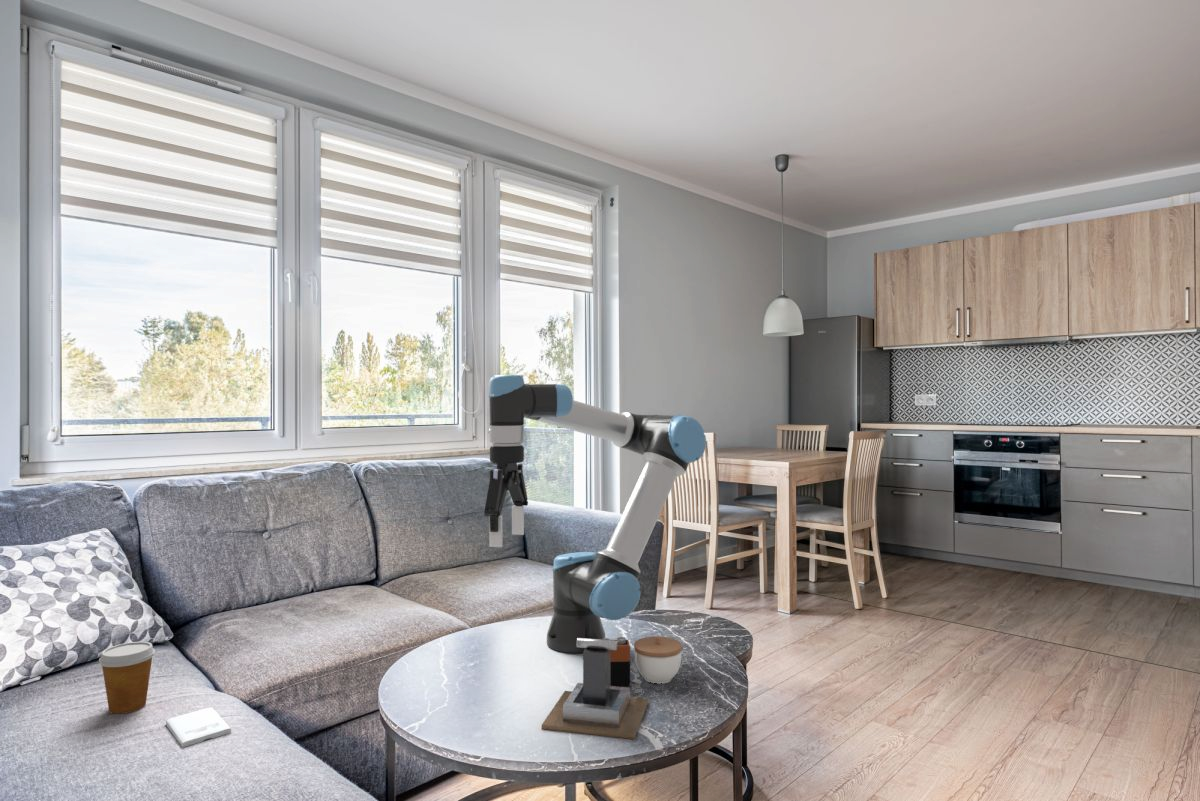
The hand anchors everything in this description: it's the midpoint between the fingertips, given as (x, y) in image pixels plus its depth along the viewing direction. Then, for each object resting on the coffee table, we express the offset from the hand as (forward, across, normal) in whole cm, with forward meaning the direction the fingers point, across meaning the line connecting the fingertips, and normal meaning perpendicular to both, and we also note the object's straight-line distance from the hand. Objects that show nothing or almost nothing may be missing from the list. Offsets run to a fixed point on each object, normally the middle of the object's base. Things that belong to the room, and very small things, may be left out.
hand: (507, 540), depth 155 cm
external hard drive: (+32, +34, -50) cm, 69 cm away
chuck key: (+30, +11, +23) cm, 40 cm away
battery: (+32, -5, +23) cm, 40 cm away
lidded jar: (+32, -10, +32) cm, 46 cm away
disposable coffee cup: (+32, +29, -72) cm, 84 cm away
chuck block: (+32, +11, +23) cm, 41 cm away
